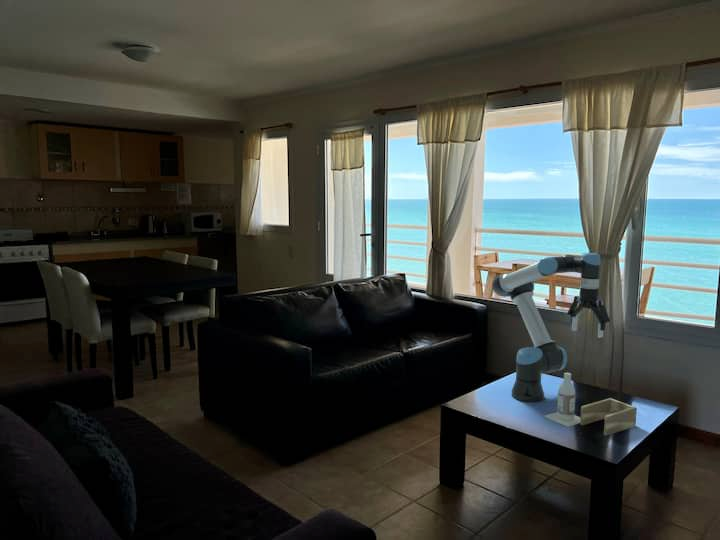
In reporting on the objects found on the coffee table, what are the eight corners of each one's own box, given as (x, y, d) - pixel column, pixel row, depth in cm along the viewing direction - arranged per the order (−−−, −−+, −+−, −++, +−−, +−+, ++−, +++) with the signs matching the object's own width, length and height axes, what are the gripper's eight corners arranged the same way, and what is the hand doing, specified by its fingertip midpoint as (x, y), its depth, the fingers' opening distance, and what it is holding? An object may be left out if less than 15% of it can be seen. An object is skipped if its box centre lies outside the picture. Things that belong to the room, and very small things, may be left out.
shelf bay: (580, 424, 218) (581, 406, 217) (609, 415, 228) (610, 398, 226) (606, 435, 208) (607, 417, 207) (635, 425, 217) (636, 407, 216)
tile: (544, 416, 226) (544, 415, 226) (563, 411, 232) (563, 410, 232) (567, 427, 216) (567, 425, 216) (586, 421, 221) (586, 419, 221)
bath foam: (567, 422, 219) (569, 377, 216) (553, 416, 225) (555, 372, 222) (577, 418, 223) (579, 374, 220) (563, 413, 228) (565, 369, 226)
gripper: (560, 284, 238) (558, 329, 241) (609, 292, 217) (606, 341, 220) (571, 283, 242) (569, 327, 245) (620, 291, 220) (617, 339, 223)
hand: (586, 333), depth 232 cm, fingers open, 13 cm apart
